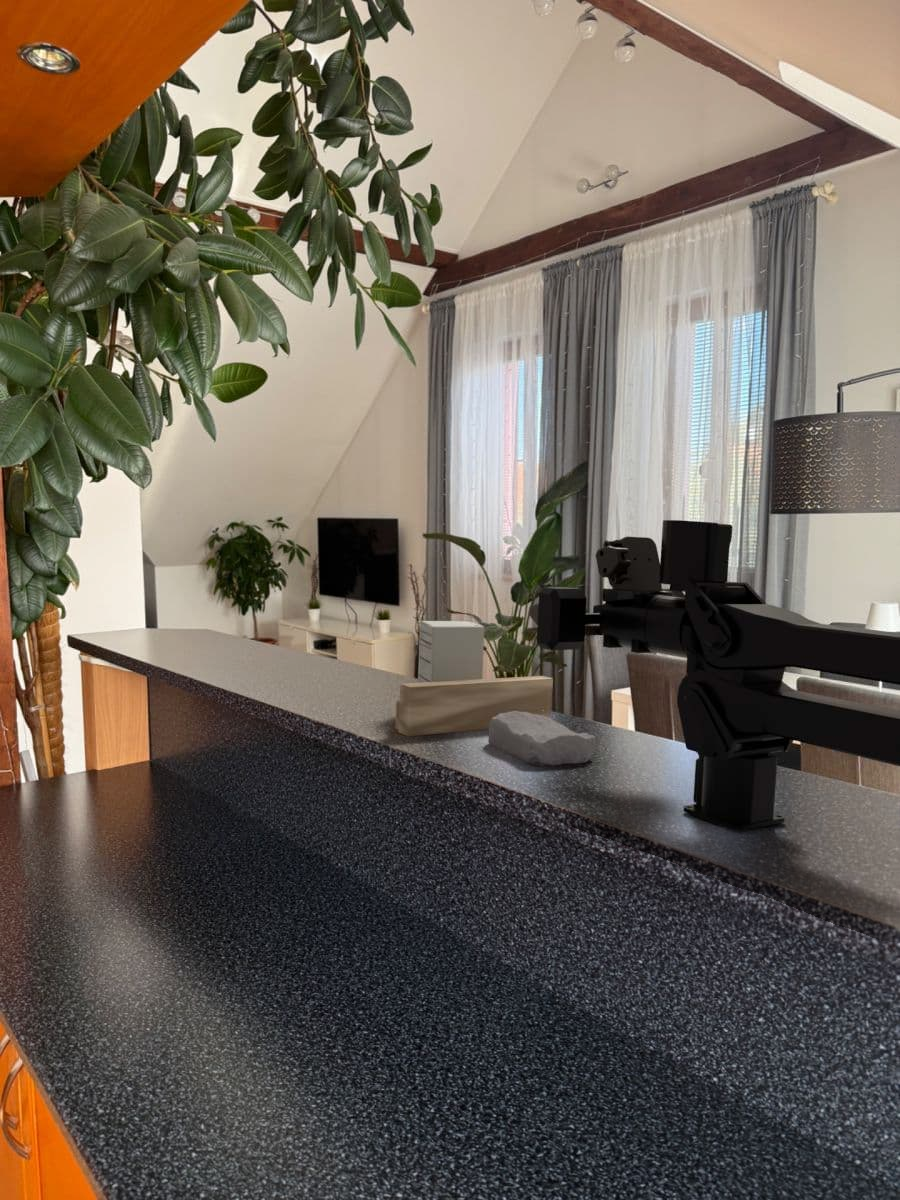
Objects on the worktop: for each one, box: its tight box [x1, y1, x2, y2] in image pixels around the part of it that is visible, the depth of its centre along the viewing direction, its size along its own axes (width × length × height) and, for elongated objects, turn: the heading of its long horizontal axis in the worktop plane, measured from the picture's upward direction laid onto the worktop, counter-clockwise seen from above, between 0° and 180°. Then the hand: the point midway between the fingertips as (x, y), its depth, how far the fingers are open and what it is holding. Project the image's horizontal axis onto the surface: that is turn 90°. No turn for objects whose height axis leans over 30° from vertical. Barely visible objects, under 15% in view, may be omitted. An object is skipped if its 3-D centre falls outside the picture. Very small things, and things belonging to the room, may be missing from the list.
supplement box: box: [417, 620, 485, 683], centre depth 124 cm, size 7×7×13 cm
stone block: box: [488, 711, 596, 767], centre depth 105 cm, size 12×5×10 cm
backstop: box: [395, 675, 554, 737], centre depth 118 cm, size 4×22×6 cm, turn 122°
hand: (563, 610), depth 102 cm, fingers open, 9 cm apart
